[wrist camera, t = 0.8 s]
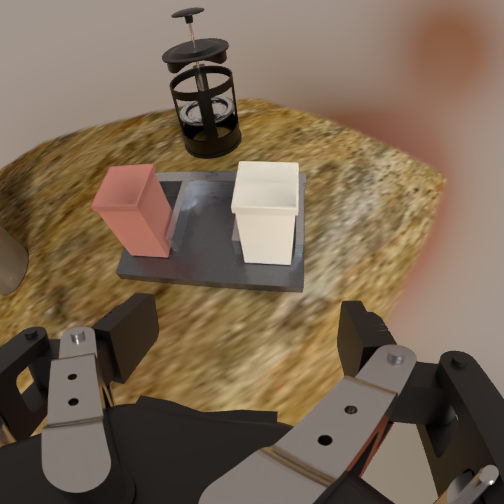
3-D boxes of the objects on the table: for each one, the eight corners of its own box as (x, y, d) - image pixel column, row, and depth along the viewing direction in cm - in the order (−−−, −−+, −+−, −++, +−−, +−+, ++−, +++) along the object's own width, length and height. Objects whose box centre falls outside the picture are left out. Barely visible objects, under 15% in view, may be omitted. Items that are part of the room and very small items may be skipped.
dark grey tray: (302, 292, 32) (306, 275, 28) (121, 278, 34) (104, 261, 31) (303, 194, 39) (305, 170, 35) (150, 191, 41) (140, 171, 37)
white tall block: (292, 266, 32) (298, 209, 23) (242, 263, 32) (231, 207, 24) (293, 225, 34) (298, 163, 26) (247, 223, 35) (239, 161, 26)
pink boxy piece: (169, 259, 33) (136, 206, 25) (129, 256, 34) (90, 206, 25) (179, 220, 36) (154, 163, 27) (141, 220, 37) (110, 166, 28)
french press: (247, 154, 44) (230, 10, 24) (186, 167, 43) (145, 28, 23) (235, 114, 49) (219, -3, 29) (184, 125, 49) (154, 10, 29)
